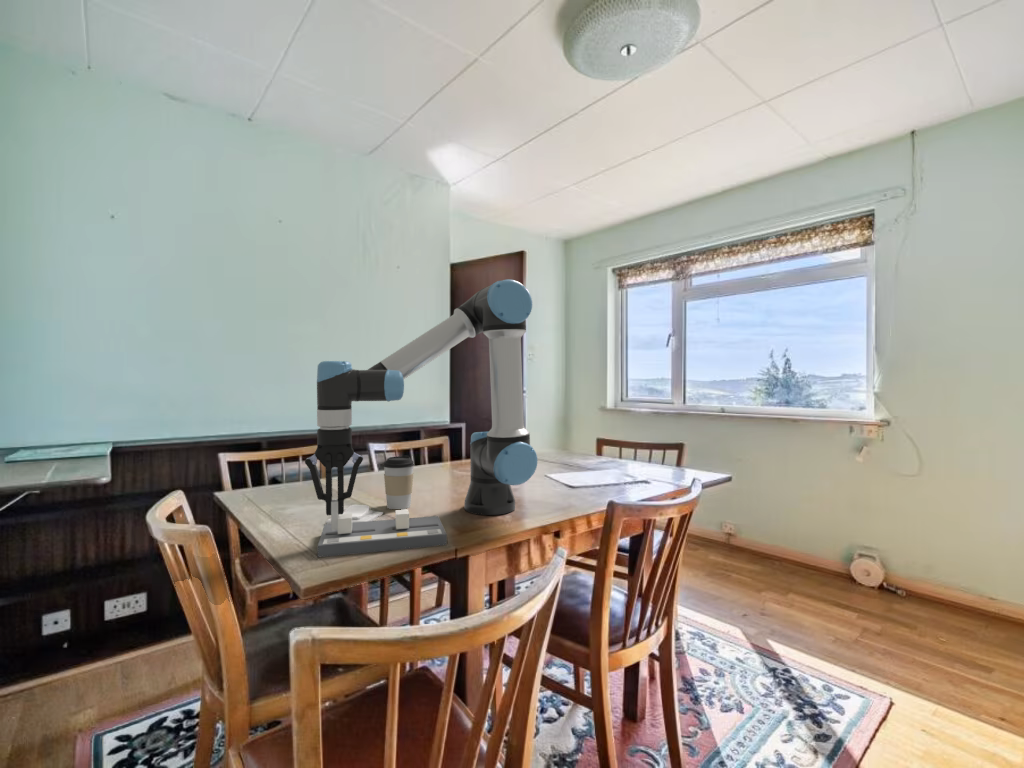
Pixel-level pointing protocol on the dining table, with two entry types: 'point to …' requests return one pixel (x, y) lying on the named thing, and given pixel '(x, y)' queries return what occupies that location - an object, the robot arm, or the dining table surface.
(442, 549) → the dining table surface
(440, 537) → the switch panel
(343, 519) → the slide switch
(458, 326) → the robot arm
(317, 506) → the dining table surface
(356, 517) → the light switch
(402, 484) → the coffee cup
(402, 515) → the slide switch
